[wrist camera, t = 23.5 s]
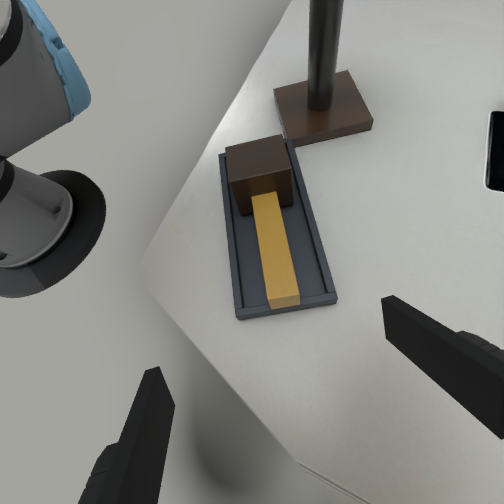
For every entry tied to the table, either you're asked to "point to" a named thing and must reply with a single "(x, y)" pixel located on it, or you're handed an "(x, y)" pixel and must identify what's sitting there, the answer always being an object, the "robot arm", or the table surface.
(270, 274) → the mallet
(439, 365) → the robot arm
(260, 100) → the table surface
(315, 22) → the pedestal stand
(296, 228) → the tray
